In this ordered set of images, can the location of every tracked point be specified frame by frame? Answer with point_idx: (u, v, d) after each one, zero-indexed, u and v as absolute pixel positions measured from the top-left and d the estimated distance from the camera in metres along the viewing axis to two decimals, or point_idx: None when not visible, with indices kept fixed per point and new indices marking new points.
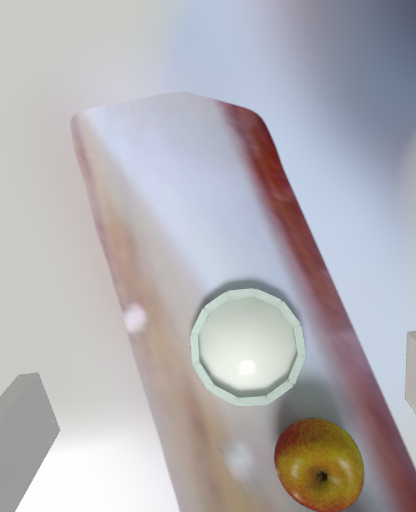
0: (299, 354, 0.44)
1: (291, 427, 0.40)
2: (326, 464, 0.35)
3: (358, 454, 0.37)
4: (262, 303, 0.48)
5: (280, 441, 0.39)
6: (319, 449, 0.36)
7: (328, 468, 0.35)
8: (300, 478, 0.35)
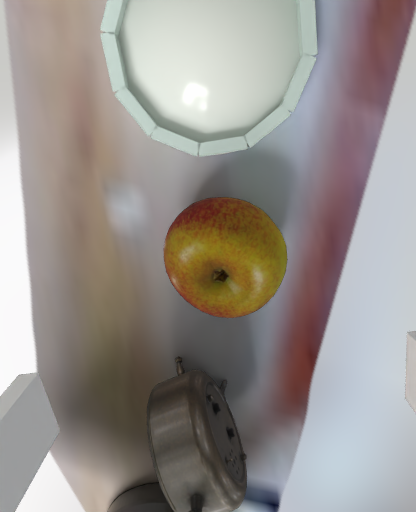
0: (283, 104, 0.25)
1: (213, 200, 0.25)
2: (233, 265, 0.23)
3: (283, 271, 0.25)
4: None
5: (187, 210, 0.25)
6: (235, 244, 0.22)
7: (233, 271, 0.23)
8: (189, 266, 0.23)
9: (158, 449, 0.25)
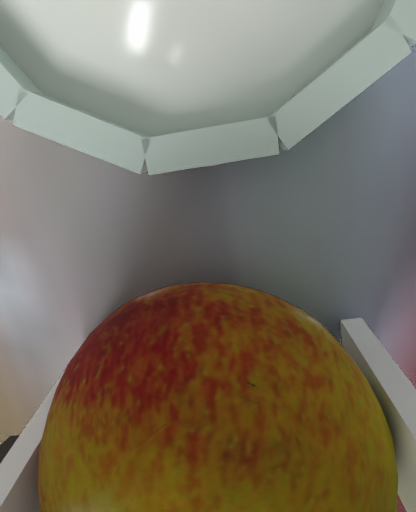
0: (391, 21, 0.08)
1: (179, 309, 0.08)
2: None
3: None
4: None
5: (104, 339, 0.08)
6: None
7: None
8: None
9: None
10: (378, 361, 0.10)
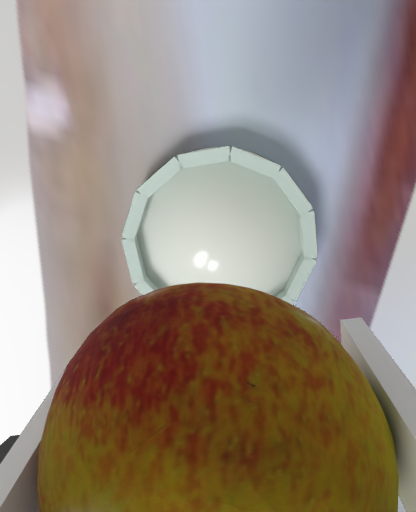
0: (287, 294, 0.28)
1: (179, 309, 0.08)
2: None
3: None
4: (278, 194, 0.26)
5: (103, 340, 0.08)
6: None
7: None
8: None
9: None
10: (378, 361, 0.10)
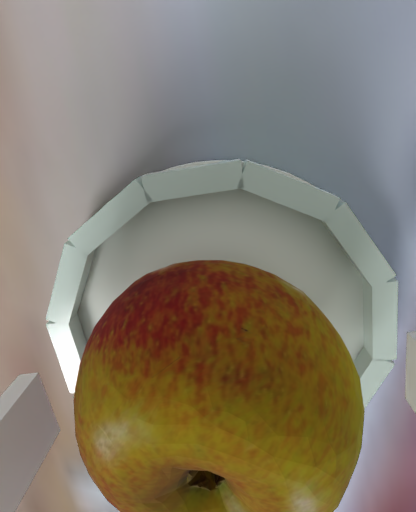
0: None
1: (187, 277, 0.10)
2: (237, 479, 0.08)
3: (358, 454, 0.10)
4: (328, 247, 0.14)
5: (127, 301, 0.10)
6: (243, 431, 0.08)
7: (236, 486, 0.09)
8: (116, 471, 0.09)
9: None
10: None
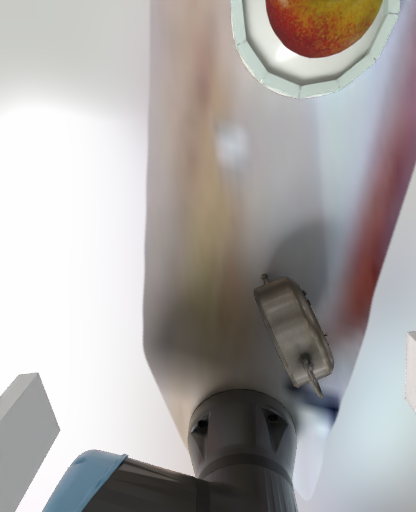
0: (370, 53, 0.32)
1: None
2: None
3: None
4: None
5: None
6: None
7: None
8: None
9: (272, 322, 0.32)
10: None
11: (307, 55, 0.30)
